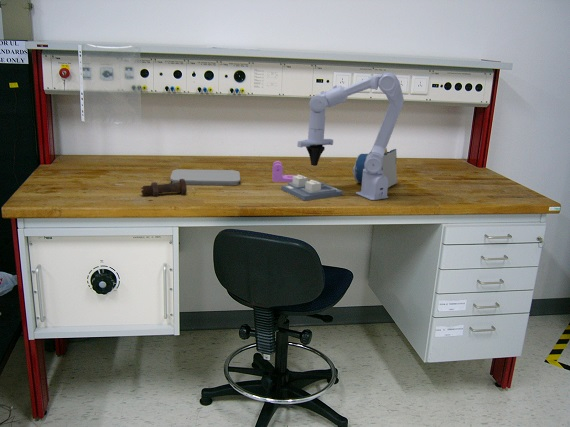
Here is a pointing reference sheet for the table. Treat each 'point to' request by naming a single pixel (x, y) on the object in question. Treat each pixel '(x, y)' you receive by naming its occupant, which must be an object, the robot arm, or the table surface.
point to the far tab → (299, 180)
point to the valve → (387, 167)
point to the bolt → (165, 188)
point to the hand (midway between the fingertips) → (314, 165)
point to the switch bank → (306, 195)
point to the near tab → (312, 186)
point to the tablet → (206, 177)
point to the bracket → (280, 173)
